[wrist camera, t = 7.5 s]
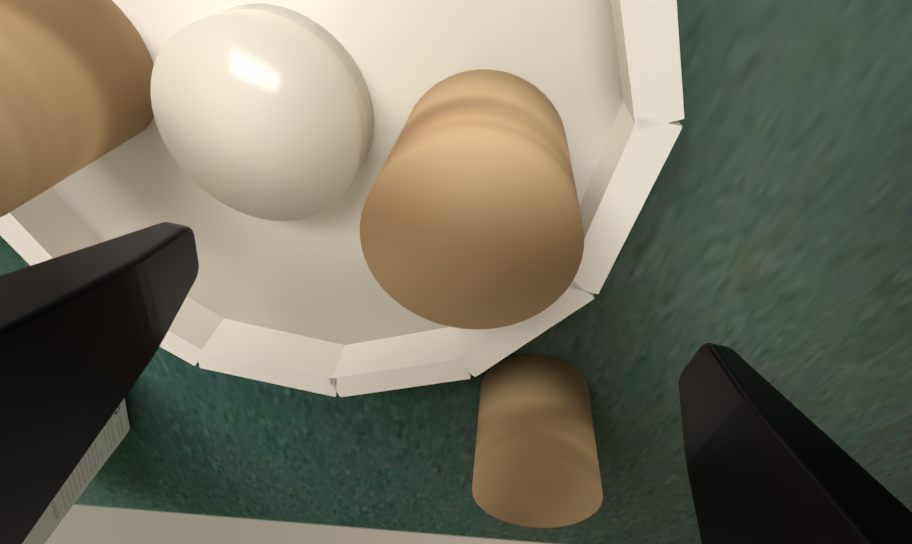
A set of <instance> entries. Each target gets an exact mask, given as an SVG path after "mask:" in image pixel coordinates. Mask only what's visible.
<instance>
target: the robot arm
mask: <svg viewBox="0 0 912 544" xmlns="http://www.w3.org/2000/svg"><path fill="white" fill-rule="evenodd" d="M198 271H199V262H198V255H197V249H196V242H195V236H194V232H193V230H192V229H191V228H190V227H188V226H185V225H180V224H176V223H171V222H162V223H159V224H156V225H153V226H150V227H147V228H144V229H141V230H138V231H135V232H132V233H129V234H126V235H123V236H120V237H117V238H113V239H110V240H107V241H104V242H101V243H98V244H95V245H92V246H89V247H86V248H83V249H80V250H77V251H74V252H71V253H68V254H65V255H62V256H59V257H56V258H53V259H50V260H47V261H44V262H40V263H37V264H34V265H31V266H28V267H25V268H22V269H19V270H16V271H13V272H10V273H7V274H4V275H1V276H0V544H22V543H23V542H24V540H25V539H26V537H27V536H28V535H29V533H30V532H31V530H32V529H33V527H34V526H35V525H36V523H37V522H38V520H39V519H40V518H41V516H42V515H43V513H44V512H45V510H46V509H47V508H48V506H49V505H50V503H51V502H52V500H53V499H54V498H55V496H56V495H57V493H58V492H59V490H60V489H61V488H62V486H63V485H64V483H65V482H66V480H67V479H68V478H69V476H70V475H71V473H72V472H73V470H74V469H75V468H76V466H77V465H78V463H79V462H80V460H81V459H82V458H83V456H84V455H85V453H86V452H87V450H88V449H89V448H90V446H91V445H92V443H93V442H94V440H95V439H96V438H97V436H98V435H99V433H100V432H101V430H102V429H103V428H104V426H105V425H106V423H107V422H108V421H109V419H110V418H111V416H112V415H113V413H114V412H115V411H116V409H117V408H118V406H119V405H120V403H121V402H122V401H123V399H124V398H125V396H126V395H127V393H128V392H129V391H130V389H131V388H132V386H133V385H134V383H135V382H136V381H137V379H138V378H139V376H140V375H141V373H142V372H143V371H144V369H145V368H146V366H147V365H148V363H149V362H150V360H151V359H152V357H153V356H154V354H155V353H156V351H157V350H158V348H159V346H160V345H161V343H162V341H163V339H164V338H165V336H166V334H167V332H168V330H169V328H170V326H171V325H172V323H173V321H174V319H175V317H176V315H177V313H178V312H179V310H180V308H181V306H182V304H183V302H184V300H185V299H186V297H187V295H188V293H189V291H190V289H191V287H192V286H193V284H194V282H195V280H196V278H197V275H198ZM679 391H680V402H681V414H682V425H683V437H684V448H685V457H686V465H687V471H688V476H689V482H690V487H691V492H692V497H693V501H694V506H695V511H696V516H697V521H698V526H699V531H700V536H701V541H702V544H912V512H911V511H910V510H909V509H908V508H907V507H905V506H904V505H903V504H902V503H901V502H900V501H899V500H898V499H897V498H896V497H894V496H893V495H892V494H891V493H890V492H889V491H888V490H887V489H886V488H884V487H883V486H882V485H881V484H880V483H879V482H878V481H877V480H876V479H875V478H873V477H872V476H871V475H870V474H869V473H868V472H867V471H866V470H865V469H864V468H862V467H861V466H860V465H859V464H858V463H857V462H856V461H855V460H854V459H853V458H851V457H850V456H849V455H848V454H847V453H846V452H845V451H844V450H843V449H841V448H840V447H839V446H838V445H837V444H836V443H835V442H834V441H833V440H832V439H830V438H829V437H828V436H827V435H826V434H825V433H824V432H823V431H822V430H821V429H819V428H818V427H817V426H816V425H815V424H814V423H813V422H812V421H811V420H810V419H808V418H807V417H806V416H805V415H804V414H803V413H802V412H801V411H800V410H799V409H797V408H796V407H795V406H794V405H793V404H792V403H791V402H790V401H789V400H787V399H786V398H785V397H784V396H783V395H782V394H781V393H780V392H779V391H778V390H776V389H775V388H774V387H773V386H772V385H771V384H770V383H769V382H768V381H767V380H765V379H764V378H763V377H762V376H761V375H760V374H759V373H758V372H757V371H756V370H754V369H753V368H752V367H751V366H750V365H749V364H748V363H747V362H746V361H745V360H743V359H742V358H741V357H740V356H739V355H738V354H737V353H736V352H735V351H734V350H732V349H731V348H729V347H726V346H721V345H717V344H713V343H706V344H704V345H702V346H701V347H700V348H699V349H698V351H697V352H696V354H695V355H694V356H693V358H692V359H691V360H690V362H689V363H688V365H687V366H686V367H685V369H684V370H683V372H682V374H681V376H680V380H679Z"/></svg>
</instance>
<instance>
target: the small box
mask: <svg viewBox="0 0 912 544" xmlns="http://www.w3.org/2000/svg"><path fill="white" fill-rule="evenodd" d="M129 429H130V425H129V420H128V414H127V408H126V402H125V398H124V399H123V401H122V402H121V403H120V405H119V406H118V408H117V409H116V411H115V412H114V413H113V415H112V416H111V418H110V419H109V421H108V422H107V423H106V425H105V426H104V428H103V429H102V430H101V432H100V433H99V435H98V436H97V438H96V439H95V440H94V442H93V443H92V445H91V446H90V448H89V449H88V450H87V452H86V453H85V455H84V456H83V458H82V459H81V460H80V462H79V463H78V465H77V466H76V468H75V469H74V470H73V472H72V473H71V475H70V476H69V478H68V479H67V480H66V482H65V483H64V485H63V486H62V488H61V489H60V490H59V492H58V493H57V495H56V496H55V498H54V499H53V500H52V502H51V503H50V505H49V506H48V508H47V509H46V510H45V512H44V513H43V515H42V516H41V518H40V519H39V520H38V522H37V523H36V525H35V526H34V527H33V529H32V530H31V532H30V533H29V535H28V536H27V537H26V539H25V540H24V542H23V543H22V544H44V543H45V542H46V541H47V539H48V538H49V537H50V535H51V534H52V532H53V531H54V530H55V529H56V527H57V526H58V525H59V523H60V522H61V520H62V519H63V517H64V516H65V515H66V514H67V512H68V511H69V510H70V508H71V507H72V506H73V505H74V503H75V502H76V501H77V499H78V498H79V497H80V495H81V494H82V493H83V492H84V490H85V489H86V487H87V486H88V485H89V484H90V482H91V481H92V479H93V478H94V477H95V475H96V474H97V473H98V472H99V470H100V469H101V468H102V466H103V465H104V464H105V462H106V461H107V460H108V458H109V457H110V456H111V454H112V453H113V452H114V450H115V449H116V448H117V446H118V445H119V444H120V443H121V441H122V440H123V439H124V437H125V436H126V434H127V433H128V432H129Z"/></svg>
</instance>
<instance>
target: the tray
mask: <svg viewBox="0 0 912 544" xmlns="http://www.w3.org/2000/svg"><path fill="white" fill-rule="evenodd" d="M112 1H113V2H114V3H115V4H116V5H117V6H118V7H119V8H120V9H121V10H122V12H123V13H124V14H125V15H126V16H127V18H128V19H129V20H130V21H131V23H132V24H133V26H134V27H135V28H136V30H137V31H138V33H139V34H140V36H141V38H142V40H143V41H144V43H145V45H146V47H147V49H148V51H149V53H150V56H151V58H152V61H153V64H154V67H153V71H152V76H151V89H150V95H151V104H152V110H153V114H154V118H153V119H152V121H151V122H150V124H149V125H148V126H147V127H146V128H145V129H144V130H143V131H142V132H140V133H139V134H138V135H136V136H134V137H133V138H131V139H129V140H128V141H126V142H125V143H123V144H121V145H120V146H118V147H116V148H115V149H113V150H111V151H110V152H108V153H106V154H105V155H103V156H102V157H100V158H98V159H97V160H95V161H93V162H92V163H90V164H88V165H87V166H85V167H84V168H82V169H80V170H79V171H77V172H75V173H74V174H72V175H70V176H69V177H67V178H66V179H64V180H62V181H61V182H59V183H57V184H56V185H54V186H52V187H51V188H49V189H48V190H46V191H44V192H43V193H41V194H39V195H38V196H36V197H34V198H33V199H31V200H30V201H28V202H26V203H25V204H23V205H21V206H20V207H18V208H16V209H15V210H13V211H11V212H10V213H8V214H6V215H4V216H2V217H0V236H1V237H2V238H3V239H4V240H5V241H6V242H7V243H8V244H9V245H10V246H11V247H12V248H13V249H14V250H15V251H16V252H17V253H18V254H19V255H20V256H21V257H22V258H23V259H24V260H25V261H26V262H27V263H28V264H29V265H30V266H31V265H34V264H37V263H40V262H44V261H47V260H50V259H53V258H56V257H59V256H62V255H65V254H68V253H71V252H74V251H77V250H80V249H83V248H86V247H89V246H92V245H95V244H98V243H101V242H104V241H107V240H110V239H113V238H117V237H120V236H123V235H126V234H129V233H132V232H135V231H138V230H141V229H144V228H147V227H150V226H153V225H156V224H159V223H162V222H171V223H176V224H180V225H185V226H188V227H190V228H191V229H192V230H193V232H194V236H195V242H196V249H197V255H198V262H199V271H198V275H197V278H196V280H195V282H194V284H193V286H192V287H191V289H190V291H189V293H188V295H187V297H186V299H185V300H184V302H183V304H182V306H181V308H180V310H179V312H178V313H177V315H176V317H175V319H174V321H173V323H172V325H171V326H170V328H169V330H168V332H167V334H166V336H165V338H164V339H163V341H162V343H161V345H160V347H162V348H163V349H165V350H167V351H169V352H171V353H172V354H174V355H176V356H178V357H180V358H181V359H183V360H185V361H187V362H189V363H190V364H192V365H194V366H195V365H196V364H197V362H198V361H199V366H200V368H203V369H207V370H212V371H217V372H221V373H226V374H231V375H235V376H240V377H245V378H249V379H254V380H259V381H263V382H268V383H272V384H277V385H282V386H286V387H291V388H296V389H300V390H305V391H310V392H314V393H319V394H324V395H328V396H333V397H336V395H337V393H338V394H339V396H340V397H346V396H353V395H360V394H367V393H374V392H382V391H389V390H396V389H403V388H410V387H417V386H424V385H431V384H438V383H445V382H452V381H459V380H466V379H471V374H472V375H473V376H474V377H476V376H478V375H479V374H481V373H482V372H484V371H485V370H487V369H489V368H490V367H492V366H493V365H495V364H496V363H498V362H499V361H501V360H502V359H504V358H505V357H507V356H508V355H510V354H511V353H513V352H514V351H516V350H517V349H519V348H520V347H522V346H523V345H525V344H526V343H528V342H529V341H531V340H532V339H534V338H535V337H537V336H539V335H540V334H542V333H543V332H545V331H546V330H548V329H549V328H551V327H552V326H554V325H555V324H557V323H558V322H560V321H561V320H563V319H564V318H566V317H567V316H569V315H570V314H572V313H573V312H575V311H576V310H578V309H579V308H581V307H582V306H584V305H585V304H587V303H588V302H590V301H592V300H593V299H594V294H593V293H595V294H599V292H600V290H601V288H602V286H603V284H604V282H605V280H606V278H607V276H608V274H609V272H610V270H611V268H612V266H613V264H614V262H615V260H616V258H617V256H618V254H619V252H620V250H621V248H622V246H623V244H624V242H625V240H626V238H627V236H628V234H629V232H630V230H631V229H632V227H633V225H634V223H635V221H636V219H637V217H638V215H639V213H640V211H641V209H642V207H643V205H644V203H645V201H646V199H647V197H648V195H649V193H650V191H651V189H652V187H653V185H654V183H655V181H656V179H657V177H658V175H659V173H660V171H661V169H662V167H663V165H664V163H665V161H666V159H667V157H668V155H669V153H670V151H671V149H672V147H673V145H674V143H675V141H676V139H677V137H678V135H679V133H680V131H681V129H682V126H681V124H680V123H679V121H678V120H681V119H684V105H683V90H682V75H681V60H680V45H679V30H678V14H677V0H112ZM478 69H489V70H498V71H504V72H507V73H510V74H514V75H516V76H518V77H521V78H523V79H525V80H527V81H528V82H530V83H531V84H533V85H534V86H536V87H537V88H538V89H539V90H540V91H541V92H543V93H544V94H545V95H546V96H547V98H548V99H549V100H550V101H551V102H552V104H553V105H554V107H555V108H556V110H557V112H558V114H559V116H560V118H561V120H562V123H563V126H564V130H565V134H566V139H567V144H568V149H569V154H570V160H571V165H572V170H573V175H574V181H575V186H576V191H577V196H578V202H579V207H580V212H581V217H582V223H583V230H584V251H583V256H582V261H581V264H580V266H579V269H578V272H577V274H576V276H575V278H574V279H573V281H572V283H571V284H570V286H569V287H568V288H567V290H566V291H565V293H564V294H563V295H562V296H561V297H560V298H559V299H558V300H557V301H556V302H555V303H553V304H552V305H551V306H549V307H548V308H547V309H546V310H544V311H542V312H541V313H539V314H537V315H536V316H534V317H531V318H529V319H527V320H525V321H522V322H519V323H516V324H513V325H510V326H505V327H501V328H493V329H461V328H455V327H449V326H445V325H442V324H438V323H435V322H432V321H430V320H427V319H424V318H422V317H420V316H418V315H416V314H414V313H412V312H411V311H409V310H408V309H406V308H405V307H403V306H402V305H400V304H399V303H398V302H396V301H395V300H394V299H393V298H392V297H391V296H390V295H389V294H388V293H387V292H386V291H385V290H384V289H383V288H382V287H381V286H380V284H379V283H378V282H377V281H376V279H375V278H374V276H373V274H372V273H371V271H370V269H369V267H368V265H367V263H366V260H365V258H364V254H363V251H362V247H361V240H360V220H361V214H362V209H363V206H364V204H365V201H366V198H367V196H368V194H369V192H370V190H371V188H372V186H373V185H374V183H375V181H376V179H377V177H378V175H379V173H380V171H381V169H382V167H383V165H384V163H385V162H386V160H387V158H388V156H389V154H390V152H391V150H392V148H393V146H394V144H395V142H396V140H397V139H398V137H399V135H400V133H401V131H402V129H403V127H404V125H405V123H406V121H407V119H408V117H409V116H410V114H411V112H412V110H413V108H414V106H415V105H416V104H417V102H418V101H419V100H420V98H421V97H422V96H423V95H424V94H425V93H426V92H427V91H428V90H429V89H430V88H432V87H433V86H434V85H436V84H437V83H438V82H440V81H442V80H444V79H445V78H447V77H450V76H452V75H455V74H457V73H461V72H465V71H469V70H478Z"/></svg>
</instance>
